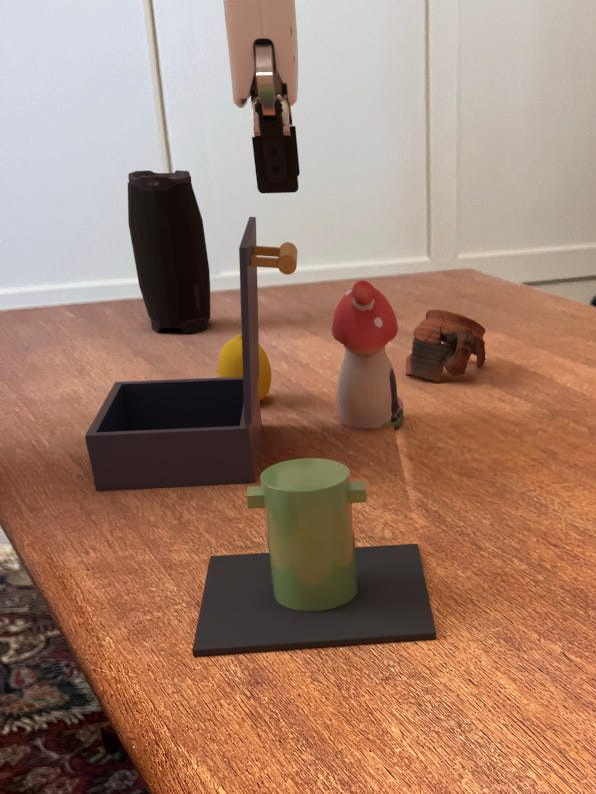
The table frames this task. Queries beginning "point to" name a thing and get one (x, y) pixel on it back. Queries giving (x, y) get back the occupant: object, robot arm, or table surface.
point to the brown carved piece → (445, 345)
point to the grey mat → (291, 629)
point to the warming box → (174, 435)
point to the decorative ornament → (366, 359)
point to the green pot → (310, 531)
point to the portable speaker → (169, 250)
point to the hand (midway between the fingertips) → (280, 184)
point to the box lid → (256, 303)
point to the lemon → (233, 364)
